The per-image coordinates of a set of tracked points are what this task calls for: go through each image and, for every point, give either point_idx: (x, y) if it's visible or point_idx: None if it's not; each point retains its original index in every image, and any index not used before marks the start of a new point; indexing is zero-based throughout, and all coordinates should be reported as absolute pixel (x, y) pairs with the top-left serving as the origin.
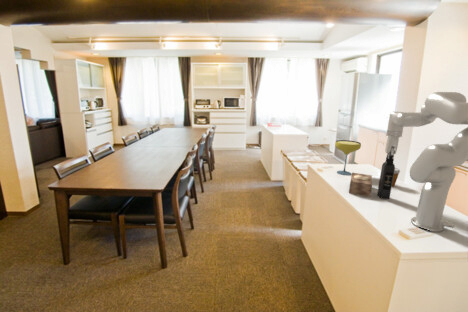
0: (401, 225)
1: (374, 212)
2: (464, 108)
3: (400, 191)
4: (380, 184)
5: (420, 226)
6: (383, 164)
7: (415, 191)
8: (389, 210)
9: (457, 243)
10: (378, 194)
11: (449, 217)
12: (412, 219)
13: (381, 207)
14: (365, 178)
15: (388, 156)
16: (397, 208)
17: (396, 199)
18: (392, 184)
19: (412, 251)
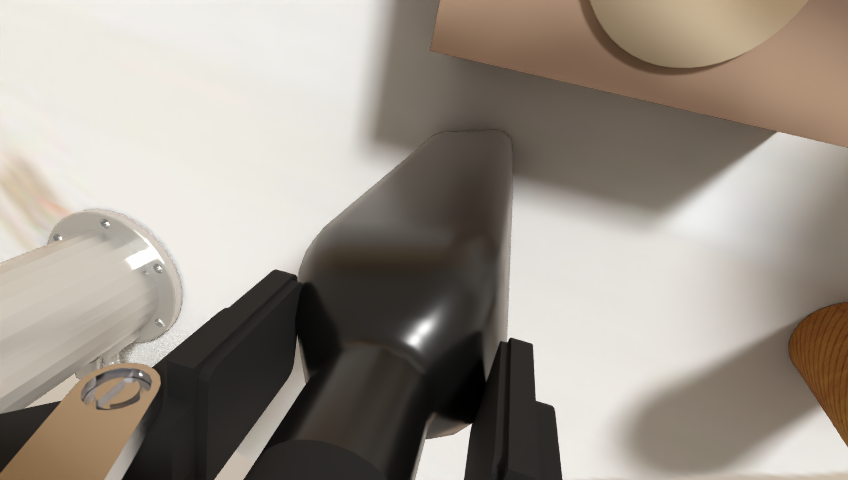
0: (45, 139)
1: (139, 11)
2: None
3: (658, 366)
4: (440, 152)
5: (53, 229)
6: (404, 246)
7: (676, 469)
8: (224, 138)
9: None
10: (464, 133)
11: (273, 429)
12: (113, 223)
13: (252, 94)
14: (667, 6)
15: (49, 419)
16: (282, 207)
17: None
18: (799, 363)
19: None
